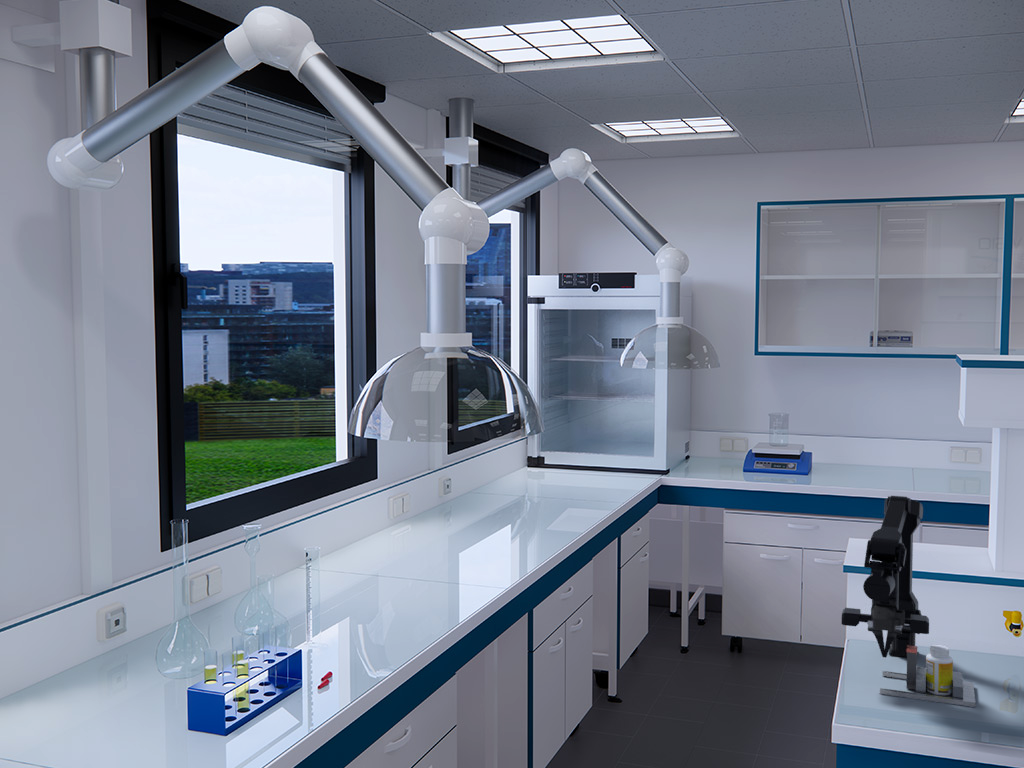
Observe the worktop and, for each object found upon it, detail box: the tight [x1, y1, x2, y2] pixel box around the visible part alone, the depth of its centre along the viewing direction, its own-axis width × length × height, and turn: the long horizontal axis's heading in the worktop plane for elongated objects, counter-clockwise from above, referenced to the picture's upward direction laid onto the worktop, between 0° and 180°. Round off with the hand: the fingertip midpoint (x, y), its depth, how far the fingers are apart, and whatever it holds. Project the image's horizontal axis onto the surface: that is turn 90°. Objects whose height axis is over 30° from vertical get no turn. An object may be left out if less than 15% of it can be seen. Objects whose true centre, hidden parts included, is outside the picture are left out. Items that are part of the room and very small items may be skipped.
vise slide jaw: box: [906, 645, 927, 694], centre depth 213 cm, size 9×4×9 cm, turn 156°
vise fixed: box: [879, 670, 976, 708], centre depth 212 cm, size 13×19×4 cm
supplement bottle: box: [925, 644, 954, 697], centre depth 211 cm, size 6×6×10 cm
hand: (884, 656), depth 215 cm, fingers closed
